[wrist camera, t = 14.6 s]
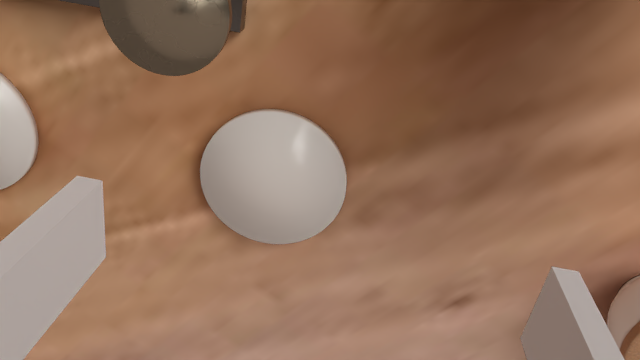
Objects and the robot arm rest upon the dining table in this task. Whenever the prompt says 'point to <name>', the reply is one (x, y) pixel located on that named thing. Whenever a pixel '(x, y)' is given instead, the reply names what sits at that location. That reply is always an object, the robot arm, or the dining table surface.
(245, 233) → the white dome
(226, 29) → the balance
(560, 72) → the dining table surface
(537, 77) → the dining table surface
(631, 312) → the lidded jar
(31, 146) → the plate low
